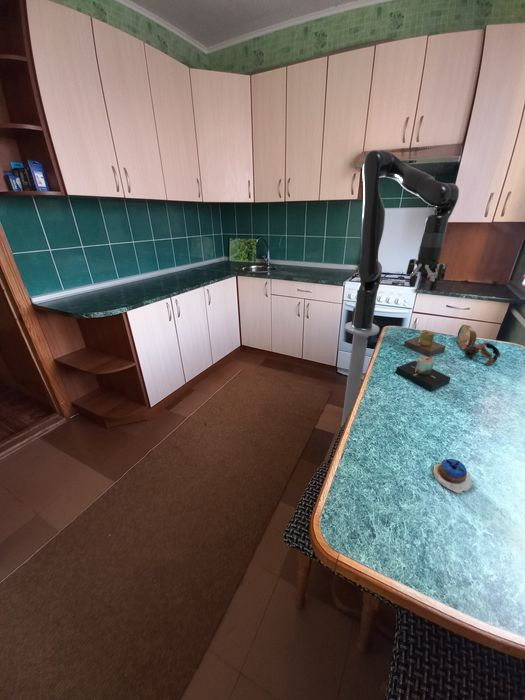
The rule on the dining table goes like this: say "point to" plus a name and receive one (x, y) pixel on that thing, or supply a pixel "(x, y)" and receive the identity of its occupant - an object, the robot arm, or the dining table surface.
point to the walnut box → (424, 347)
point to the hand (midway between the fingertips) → (421, 288)
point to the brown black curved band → (483, 352)
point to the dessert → (453, 475)
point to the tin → (466, 336)
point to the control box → (423, 377)
